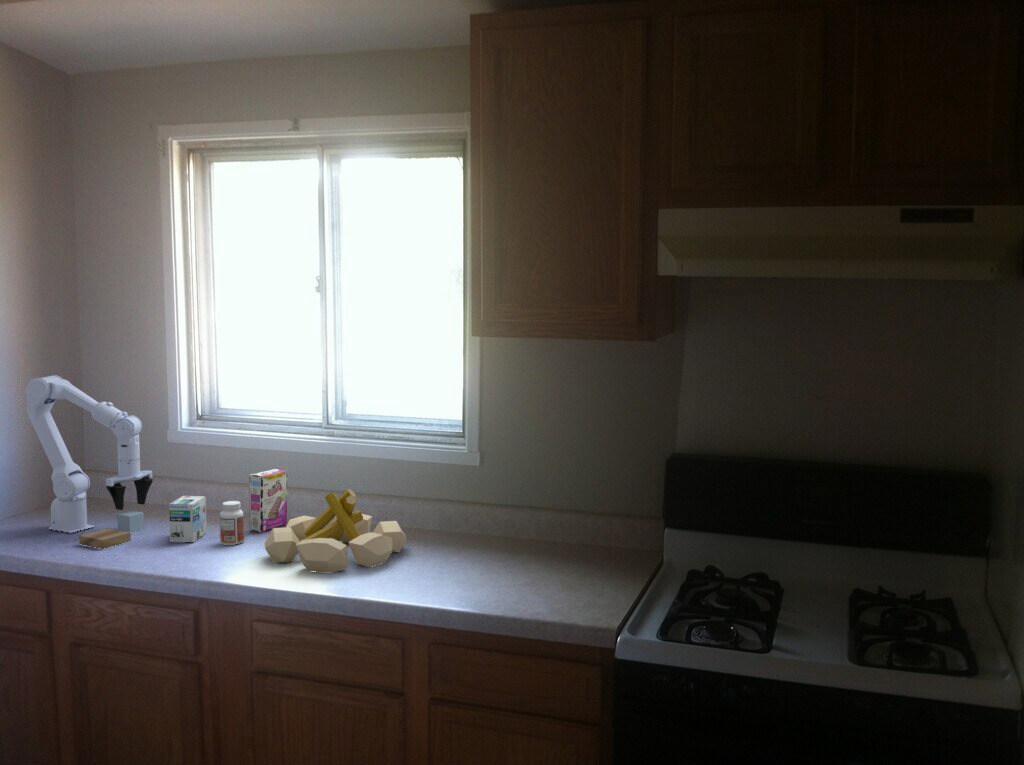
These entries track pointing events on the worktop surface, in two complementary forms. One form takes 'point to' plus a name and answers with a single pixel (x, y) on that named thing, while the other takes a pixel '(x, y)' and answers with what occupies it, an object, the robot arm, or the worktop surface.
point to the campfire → (335, 538)
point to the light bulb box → (187, 518)
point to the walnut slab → (104, 538)
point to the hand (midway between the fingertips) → (130, 506)
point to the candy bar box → (268, 500)
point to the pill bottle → (231, 523)
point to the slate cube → (130, 521)
